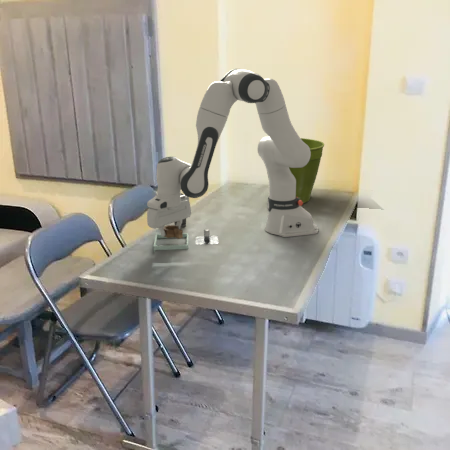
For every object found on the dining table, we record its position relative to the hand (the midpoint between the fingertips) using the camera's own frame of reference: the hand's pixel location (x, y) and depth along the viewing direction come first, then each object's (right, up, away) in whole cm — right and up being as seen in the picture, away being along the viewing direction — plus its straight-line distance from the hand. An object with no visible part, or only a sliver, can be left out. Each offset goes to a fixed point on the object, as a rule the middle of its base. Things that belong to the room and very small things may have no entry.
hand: (170, 233), depth 205 cm
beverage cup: (+2, +2, +21) cm, 21 cm away
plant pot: (+55, +16, +59) cm, 82 cm away
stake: (+14, -4, +5) cm, 15 cm away
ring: (+1, -1, -1) cm, 2 cm away
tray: (0, -5, +2) cm, 5 cm away
